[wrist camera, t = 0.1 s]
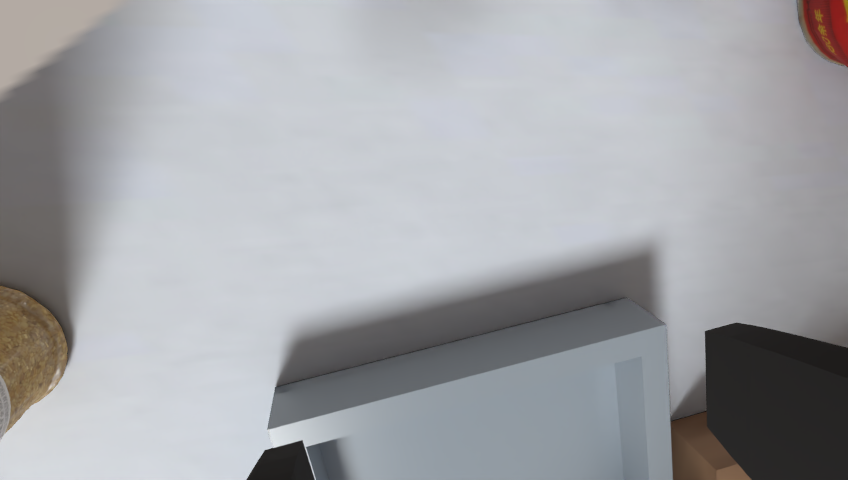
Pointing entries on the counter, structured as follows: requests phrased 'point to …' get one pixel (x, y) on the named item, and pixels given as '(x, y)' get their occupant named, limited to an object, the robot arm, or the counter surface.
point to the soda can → (826, 28)
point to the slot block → (700, 452)
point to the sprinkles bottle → (27, 354)
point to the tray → (496, 406)
